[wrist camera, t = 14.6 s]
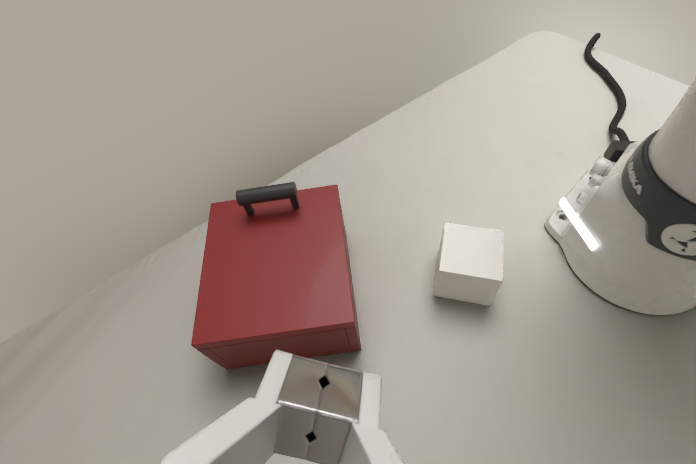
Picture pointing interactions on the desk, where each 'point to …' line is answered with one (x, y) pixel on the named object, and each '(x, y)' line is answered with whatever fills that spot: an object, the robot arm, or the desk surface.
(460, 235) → the white cube
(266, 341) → the red open box
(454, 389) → the desk surface
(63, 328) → the desk surface
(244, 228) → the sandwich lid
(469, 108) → the desk surface
